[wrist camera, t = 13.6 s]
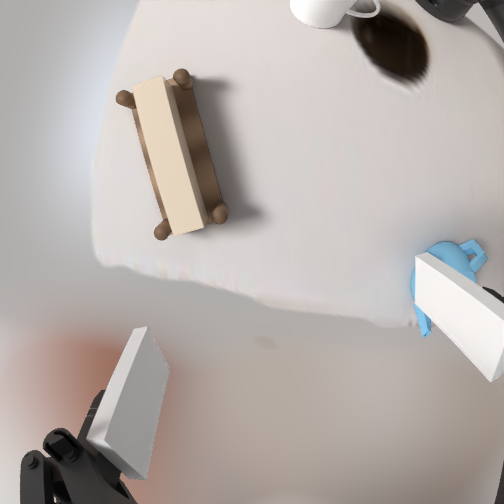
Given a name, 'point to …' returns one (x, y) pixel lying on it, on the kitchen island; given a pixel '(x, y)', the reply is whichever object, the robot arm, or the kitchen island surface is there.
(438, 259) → the robot arm
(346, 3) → the mug
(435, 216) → the kitchen island surface
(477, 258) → the teapot
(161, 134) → the beige long block
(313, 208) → the kitchen island surface
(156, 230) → the rack
